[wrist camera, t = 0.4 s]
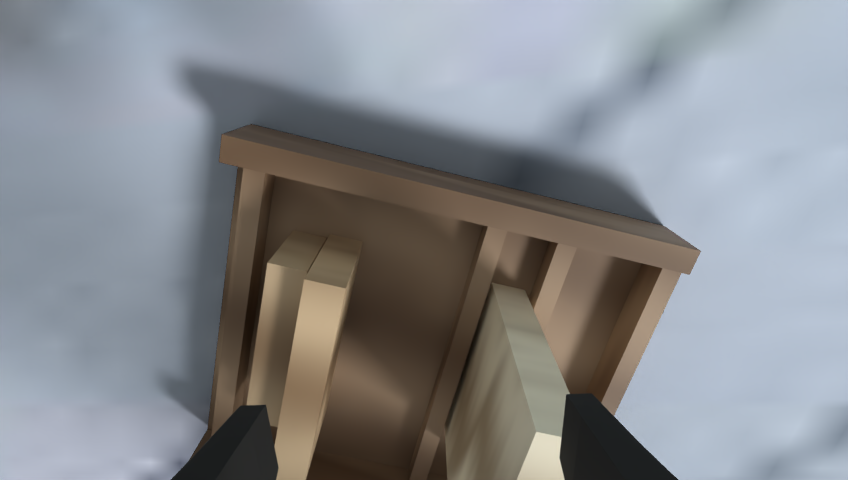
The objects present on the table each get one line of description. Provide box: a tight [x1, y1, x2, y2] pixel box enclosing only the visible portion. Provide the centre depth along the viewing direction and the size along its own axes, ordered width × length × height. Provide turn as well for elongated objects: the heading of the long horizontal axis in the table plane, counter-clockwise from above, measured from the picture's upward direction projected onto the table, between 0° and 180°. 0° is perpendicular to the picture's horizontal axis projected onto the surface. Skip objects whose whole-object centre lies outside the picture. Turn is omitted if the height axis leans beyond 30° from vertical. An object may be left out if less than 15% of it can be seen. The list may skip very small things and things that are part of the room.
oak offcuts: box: [247, 230, 362, 480], centre depth 20 cm, size 9×3×4 cm, turn 166°
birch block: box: [445, 283, 570, 480], centre depth 18 cm, size 8×2×9 cm, turn 166°
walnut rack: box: [190, 124, 701, 480], centre depth 22 cm, size 16×18×3 cm
